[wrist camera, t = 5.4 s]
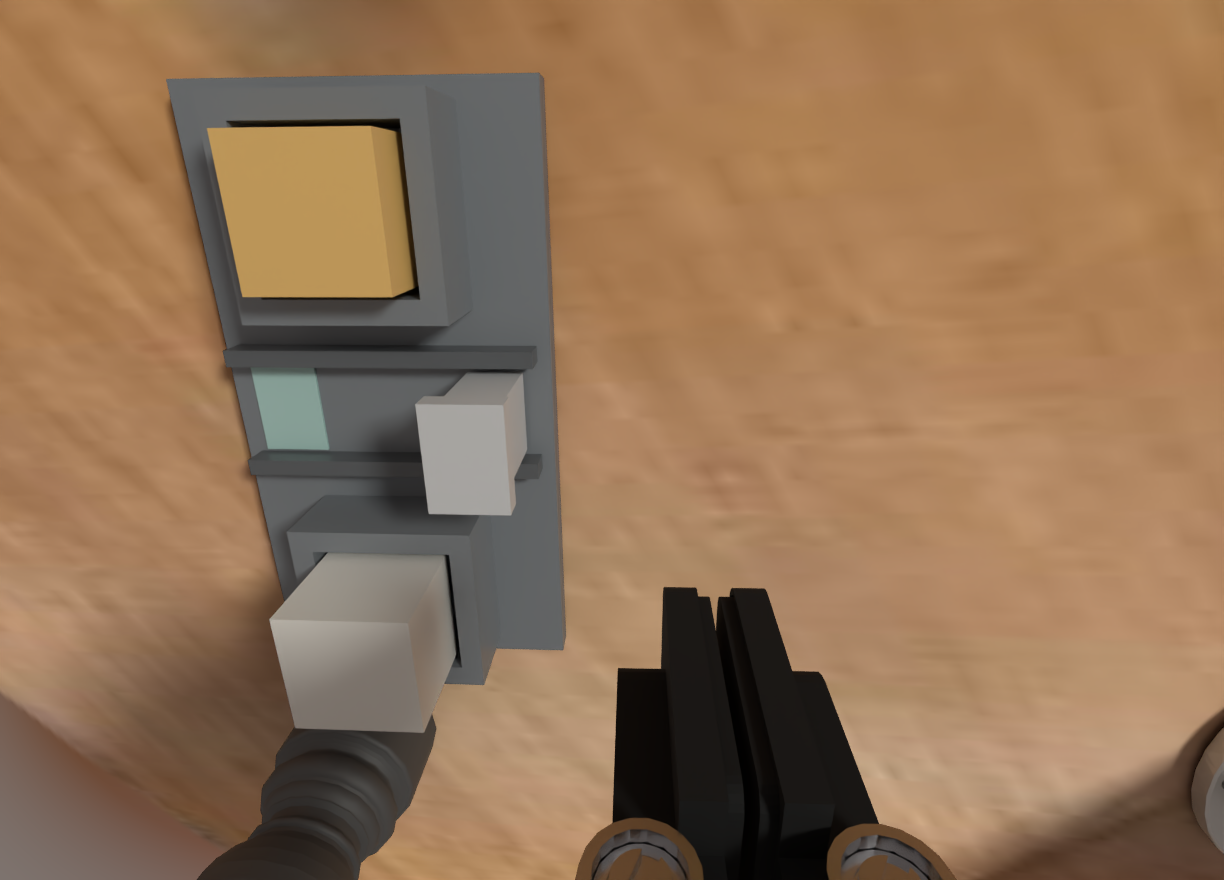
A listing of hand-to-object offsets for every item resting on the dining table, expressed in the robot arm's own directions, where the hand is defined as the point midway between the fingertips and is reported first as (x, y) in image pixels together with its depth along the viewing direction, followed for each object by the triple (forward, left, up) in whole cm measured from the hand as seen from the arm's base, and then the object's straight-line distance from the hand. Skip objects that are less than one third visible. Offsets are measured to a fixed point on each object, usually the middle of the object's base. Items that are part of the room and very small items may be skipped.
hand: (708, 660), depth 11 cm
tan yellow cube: (+11, -7, -14) cm, 18 cm away
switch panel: (+11, 0, -15) cm, 18 cm away
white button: (+11, +7, -11) cm, 17 cm away
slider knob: (+7, 0, -14) cm, 15 cm away
